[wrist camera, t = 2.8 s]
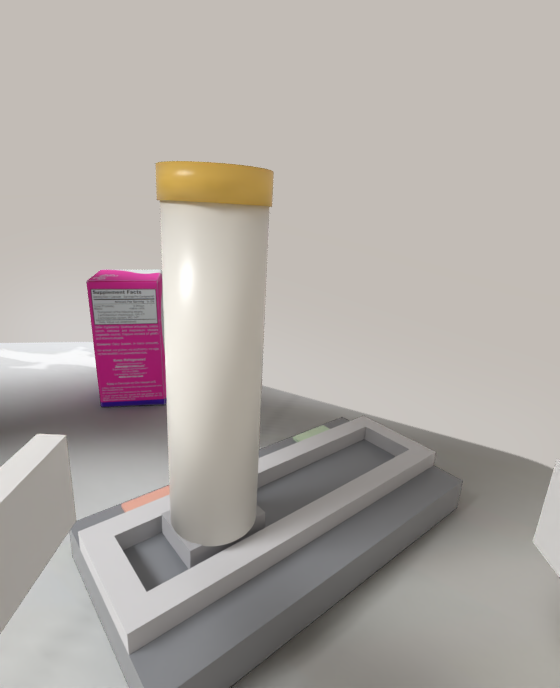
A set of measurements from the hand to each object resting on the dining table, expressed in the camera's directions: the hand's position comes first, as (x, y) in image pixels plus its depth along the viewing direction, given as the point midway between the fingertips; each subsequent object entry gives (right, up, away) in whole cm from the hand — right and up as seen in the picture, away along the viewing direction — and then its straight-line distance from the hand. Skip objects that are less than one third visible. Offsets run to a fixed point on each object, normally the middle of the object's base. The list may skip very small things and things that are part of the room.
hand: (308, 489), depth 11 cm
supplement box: (-15, -1, +28) cm, 32 cm away
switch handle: (-4, -5, +9) cm, 11 cm away
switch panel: (0, -7, +12) cm, 14 cm away
